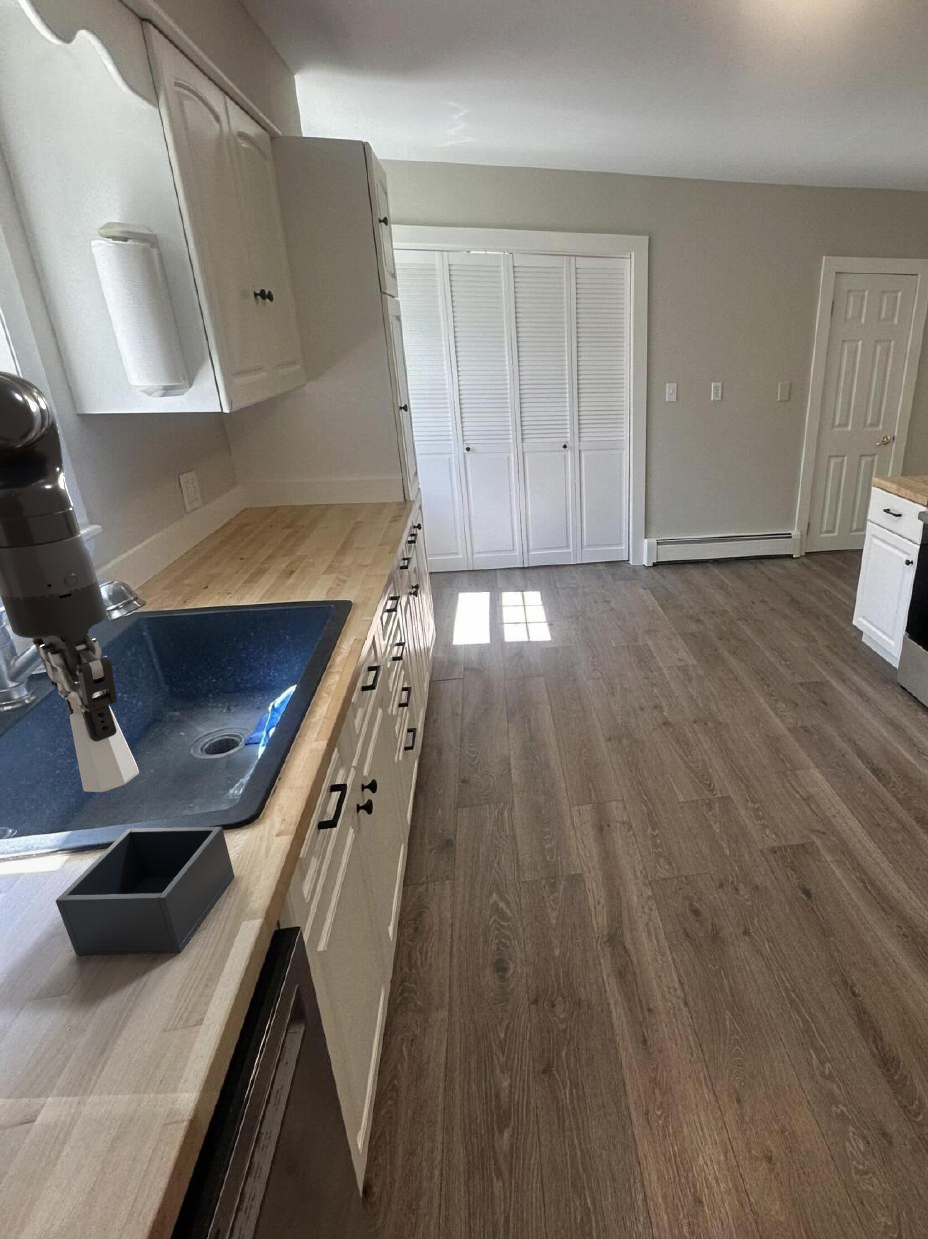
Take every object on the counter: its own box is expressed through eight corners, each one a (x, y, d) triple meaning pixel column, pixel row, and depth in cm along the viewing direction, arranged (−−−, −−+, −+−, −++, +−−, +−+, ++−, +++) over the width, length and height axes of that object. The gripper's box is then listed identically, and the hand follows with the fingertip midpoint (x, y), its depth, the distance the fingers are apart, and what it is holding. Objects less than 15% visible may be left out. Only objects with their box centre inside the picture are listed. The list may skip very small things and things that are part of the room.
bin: (75, 955, 73) (54, 900, 70) (143, 878, 83) (127, 828, 81) (181, 952, 73) (164, 897, 70) (235, 876, 84) (222, 826, 81)
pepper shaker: (91, 769, 75) (63, 684, 71) (147, 760, 77) (122, 676, 73) (72, 798, 70) (40, 707, 67) (131, 787, 72) (104, 698, 68)
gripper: (-24, 579, 66) (29, 727, 72) (26, 607, 59) (80, 769, 65) (67, 561, 72) (109, 699, 78) (122, 584, 65) (164, 735, 71)
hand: (95, 730), depth 72 cm, fingers closed on pepper shaker, 4 cm apart
